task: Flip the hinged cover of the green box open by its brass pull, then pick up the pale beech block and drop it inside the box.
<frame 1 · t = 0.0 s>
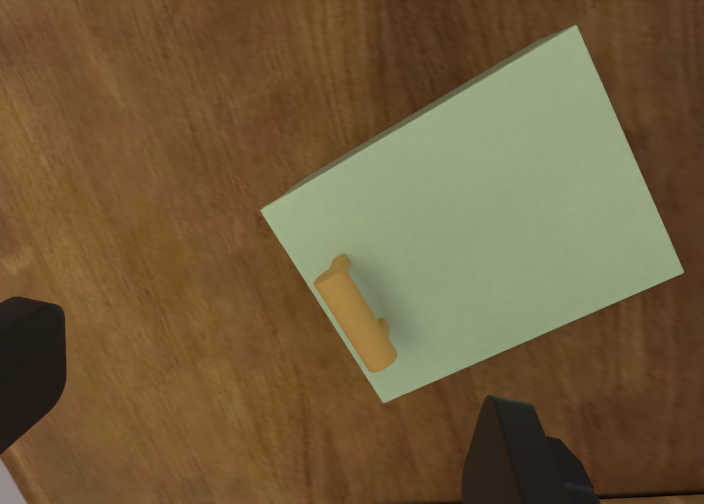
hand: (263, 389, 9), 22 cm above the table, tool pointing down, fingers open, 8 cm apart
cover: (470, 250, 22), point 8 cm above the table, hinge at 0.0°
green box: (459, 206, 30), on the table
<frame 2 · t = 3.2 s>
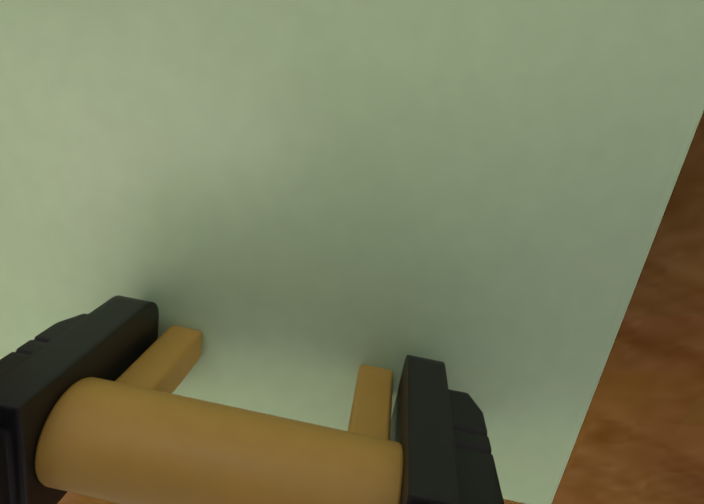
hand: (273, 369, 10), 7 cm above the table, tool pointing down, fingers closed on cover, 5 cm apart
cover: (302, 52, 7), point 8 cm above the table, hinge at -0.1°, touching gripper
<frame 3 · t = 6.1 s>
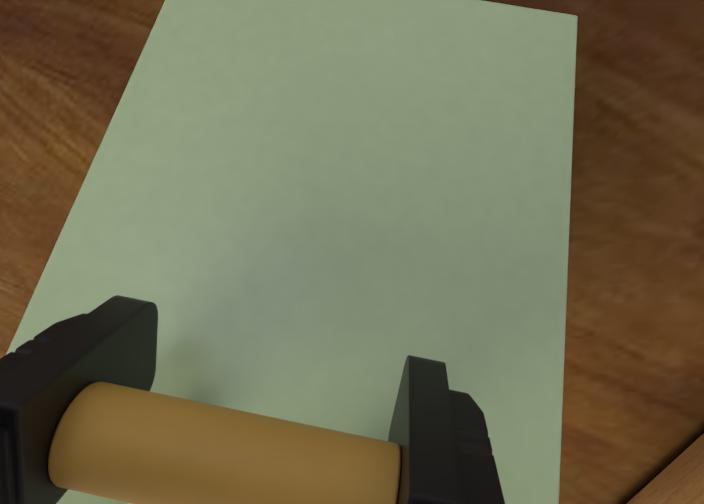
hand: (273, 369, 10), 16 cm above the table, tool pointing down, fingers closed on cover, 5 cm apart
cover: (319, 184, 11), point 13 cm above the table, hinge at 40.7°, touching gripper
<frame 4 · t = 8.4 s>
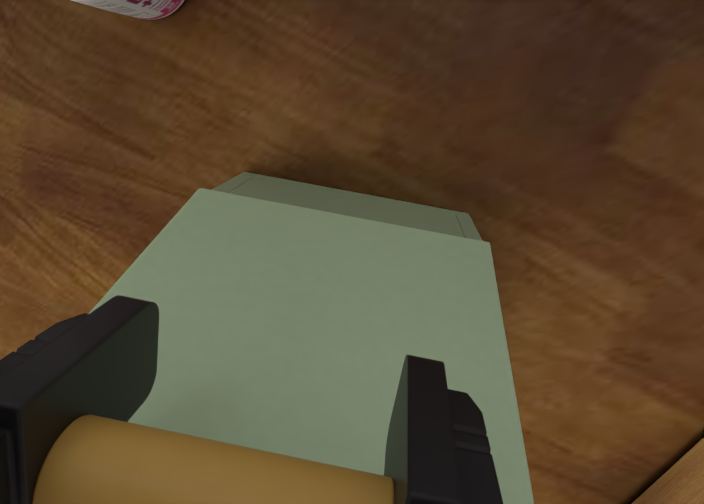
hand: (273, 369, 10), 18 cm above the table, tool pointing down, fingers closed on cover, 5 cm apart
cover: (302, 316, 13), point 15 cm above the table, hinge at 74.6°, touching gripper
green box: (333, 317, 29), on the table
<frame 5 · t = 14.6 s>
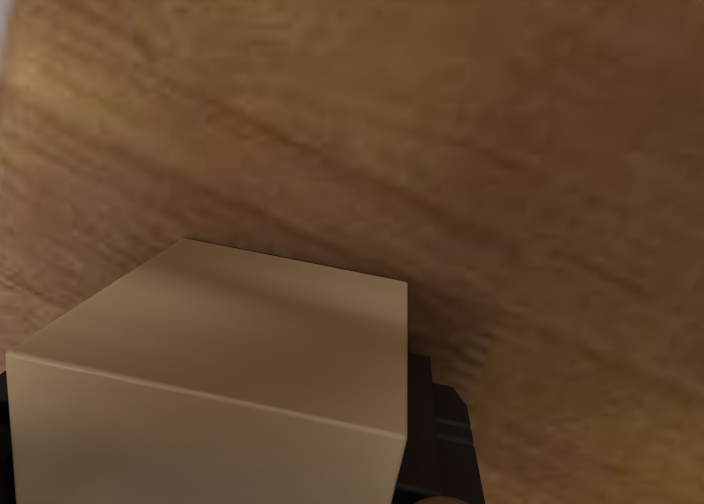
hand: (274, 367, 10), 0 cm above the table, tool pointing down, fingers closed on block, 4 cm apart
block: (280, 358, 10), on the table, touching gripper
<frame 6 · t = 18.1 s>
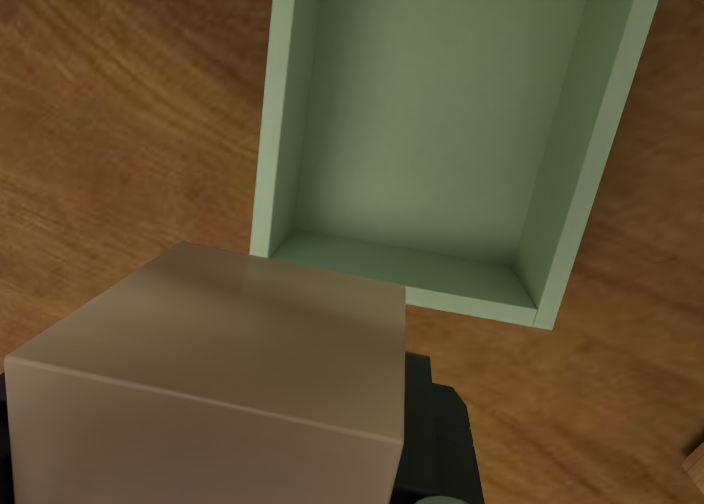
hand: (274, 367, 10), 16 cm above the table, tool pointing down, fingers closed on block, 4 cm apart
green box: (429, 102, 23), on the table
block: (278, 361, 10), point 15 cm above the table, touching gripper
when the fingers open (4 cm above the table, at t = 21.7 s): block drops 3 cm, resting on green box.
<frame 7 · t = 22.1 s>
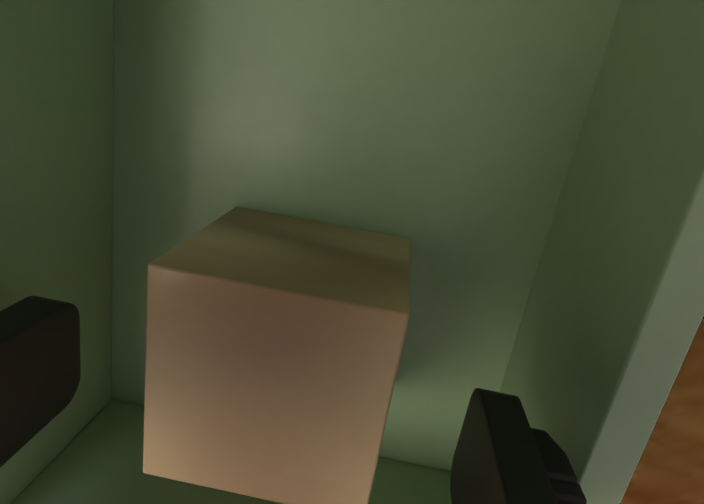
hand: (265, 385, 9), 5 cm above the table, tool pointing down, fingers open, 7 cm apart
green box: (327, 203, 13), on the table
block: (310, 301, 13), point 1 cm above the table, touching green box
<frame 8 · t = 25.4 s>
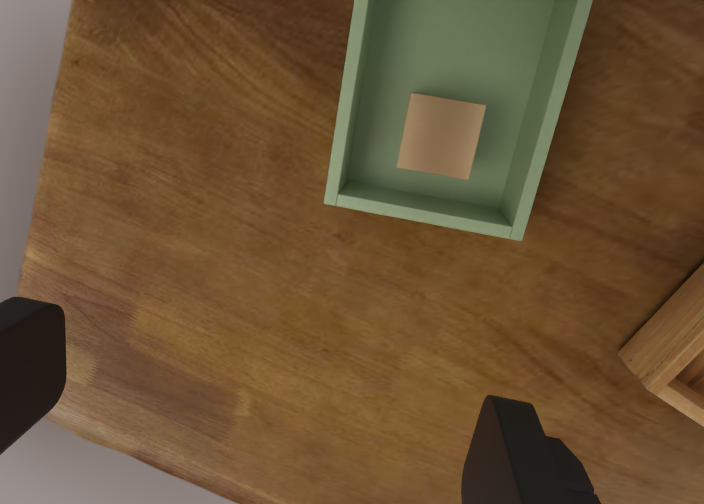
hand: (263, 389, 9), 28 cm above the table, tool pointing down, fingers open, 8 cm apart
green box: (443, 93, 34), on the table
block: (436, 131, 34), point 1 cm above the table, touching green box
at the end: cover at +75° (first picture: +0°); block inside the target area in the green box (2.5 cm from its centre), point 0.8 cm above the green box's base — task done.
